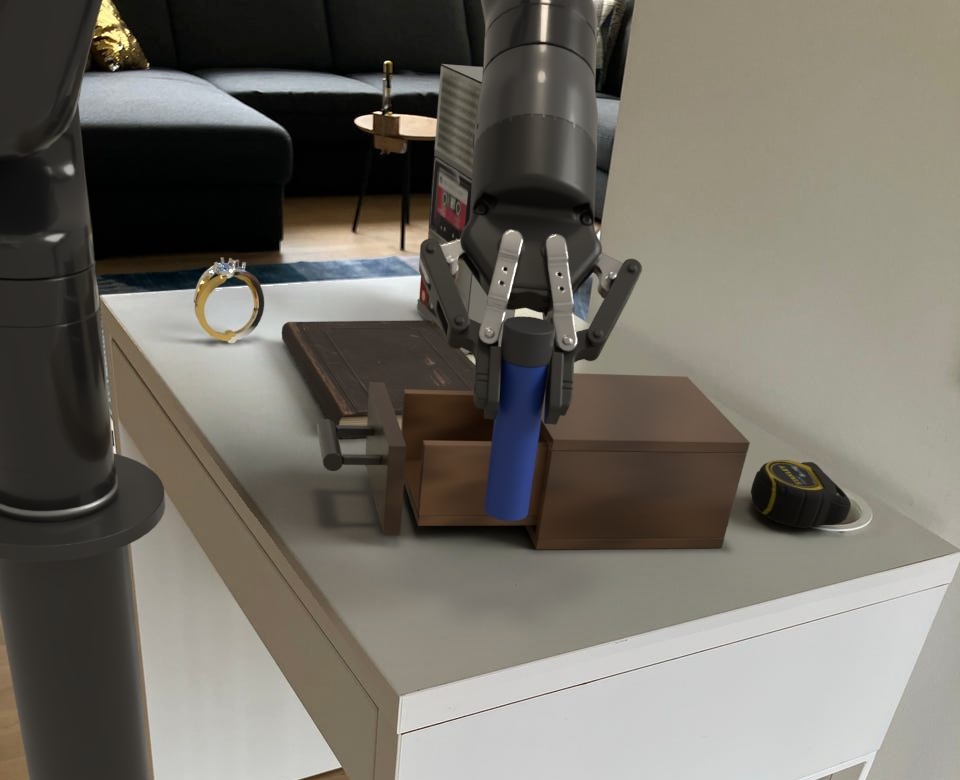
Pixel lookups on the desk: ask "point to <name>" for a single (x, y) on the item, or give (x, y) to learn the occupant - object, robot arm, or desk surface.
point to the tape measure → (798, 495)
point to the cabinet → (638, 467)
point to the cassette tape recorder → (455, 181)
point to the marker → (518, 416)
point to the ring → (207, 287)
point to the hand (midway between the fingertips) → (522, 415)
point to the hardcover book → (374, 363)
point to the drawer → (427, 458)
